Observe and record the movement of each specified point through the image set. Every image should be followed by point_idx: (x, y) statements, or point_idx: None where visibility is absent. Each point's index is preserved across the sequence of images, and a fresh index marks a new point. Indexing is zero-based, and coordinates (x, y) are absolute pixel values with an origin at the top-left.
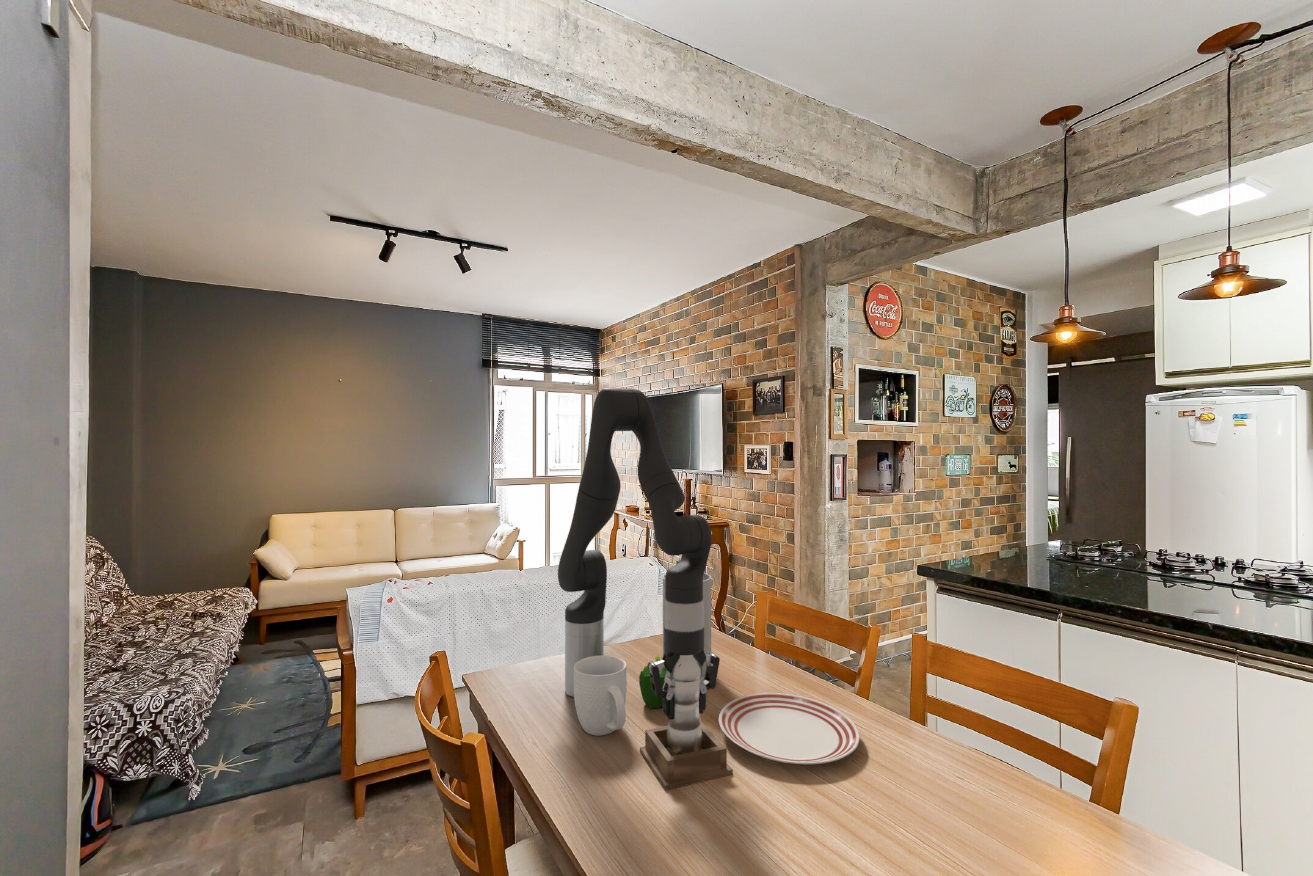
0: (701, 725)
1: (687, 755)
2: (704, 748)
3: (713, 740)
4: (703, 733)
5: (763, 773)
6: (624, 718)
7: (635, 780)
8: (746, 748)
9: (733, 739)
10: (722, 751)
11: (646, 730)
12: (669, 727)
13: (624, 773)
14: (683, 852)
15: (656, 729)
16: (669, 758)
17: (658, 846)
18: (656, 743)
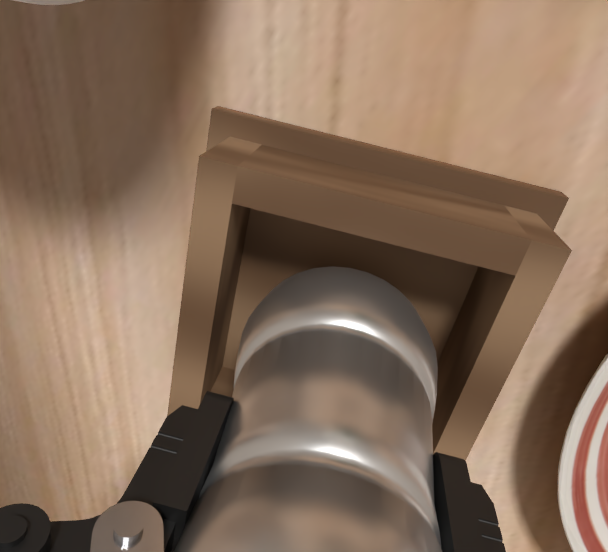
0: (522, 308)
1: None
2: (459, 322)
3: (447, 440)
4: (474, 352)
5: (533, 498)
6: (80, 1)
7: (111, 278)
8: (565, 481)
9: (590, 409)
10: None
11: (204, 162)
12: (236, 376)
13: (88, 215)
14: None
15: (262, 191)
16: None
17: (66, 510)
18: (189, 305)
